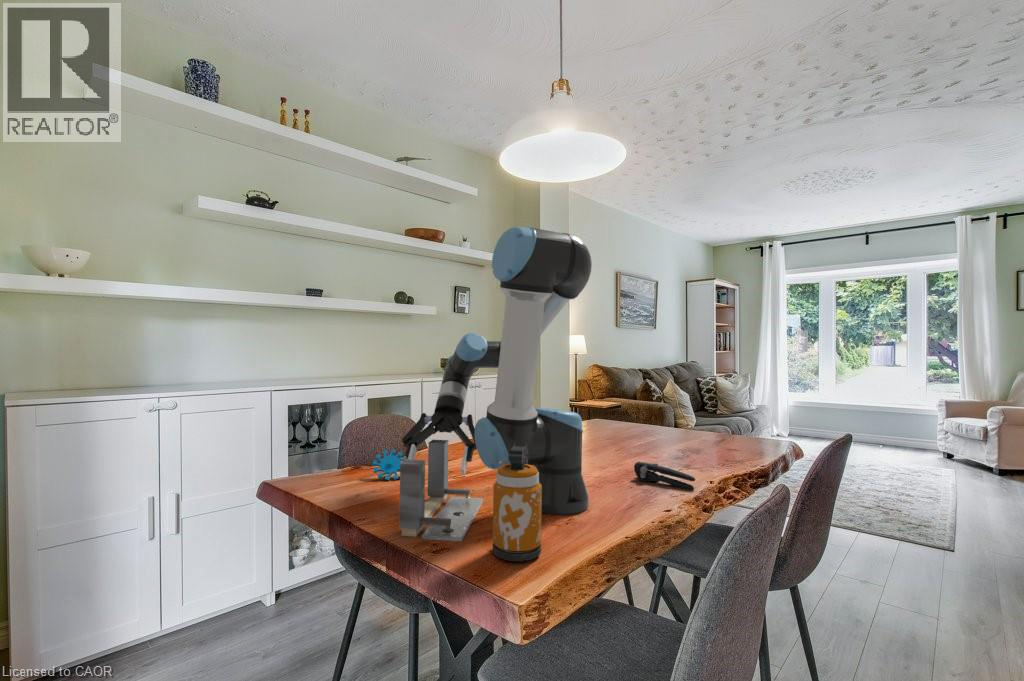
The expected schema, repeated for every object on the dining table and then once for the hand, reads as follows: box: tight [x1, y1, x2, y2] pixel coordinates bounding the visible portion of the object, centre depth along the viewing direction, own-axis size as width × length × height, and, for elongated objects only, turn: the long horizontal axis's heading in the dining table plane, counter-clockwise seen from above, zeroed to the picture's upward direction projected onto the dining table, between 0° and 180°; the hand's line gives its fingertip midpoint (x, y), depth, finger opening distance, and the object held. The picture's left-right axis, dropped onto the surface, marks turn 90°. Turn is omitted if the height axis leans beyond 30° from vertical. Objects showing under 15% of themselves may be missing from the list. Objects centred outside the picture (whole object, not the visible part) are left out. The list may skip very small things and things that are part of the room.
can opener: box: [633, 461, 696, 491], centre depth 137 cm, size 18×7×6 cm, turn 49°
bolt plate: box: [421, 495, 484, 542], centre depth 108 cm, size 25×8×1 cm, turn 174°
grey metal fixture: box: [398, 458, 451, 538], centre depth 110 cm, size 26×10×14 cm, turn 174°
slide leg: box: [427, 439, 471, 498], centre depth 119 cm, size 4×10×14 cm, turn 84°
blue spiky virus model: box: [372, 449, 407, 481], centre depth 141 cm, size 11×6×10 cm
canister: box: [492, 443, 542, 562], centre depth 91 cm, size 9×11×20 cm
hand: (435, 471), depth 117 cm, fingers open, 13 cm apart
